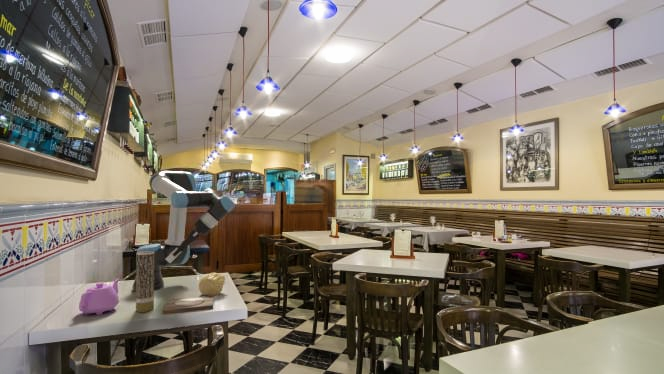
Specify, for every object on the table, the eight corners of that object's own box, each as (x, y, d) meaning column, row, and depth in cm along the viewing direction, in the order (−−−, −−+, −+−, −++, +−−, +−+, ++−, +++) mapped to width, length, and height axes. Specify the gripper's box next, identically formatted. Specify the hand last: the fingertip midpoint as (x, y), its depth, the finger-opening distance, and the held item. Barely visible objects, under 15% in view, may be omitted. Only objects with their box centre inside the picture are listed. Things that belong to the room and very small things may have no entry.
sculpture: (216, 298, 165) (216, 275, 165) (194, 296, 167) (194, 274, 168) (228, 291, 176) (228, 270, 177) (207, 290, 179) (207, 270, 179)
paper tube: (157, 308, 150) (157, 251, 151) (147, 313, 144) (147, 253, 144) (142, 307, 151) (143, 251, 152) (132, 312, 144) (132, 253, 145)
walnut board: (167, 303, 157) (167, 298, 157) (213, 298, 164) (213, 294, 164) (162, 313, 142) (162, 309, 142) (212, 308, 148) (212, 304, 149)
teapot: (106, 303, 158) (106, 277, 159) (132, 304, 156) (133, 277, 156) (65, 318, 139) (65, 287, 139) (95, 319, 136) (95, 289, 137)
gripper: (211, 231, 145) (172, 269, 140) (212, 227, 169) (179, 259, 163) (198, 219, 144) (158, 257, 138) (200, 216, 167) (167, 249, 162)
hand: (169, 258), depth 151 cm, fingers open, 13 cm apart
